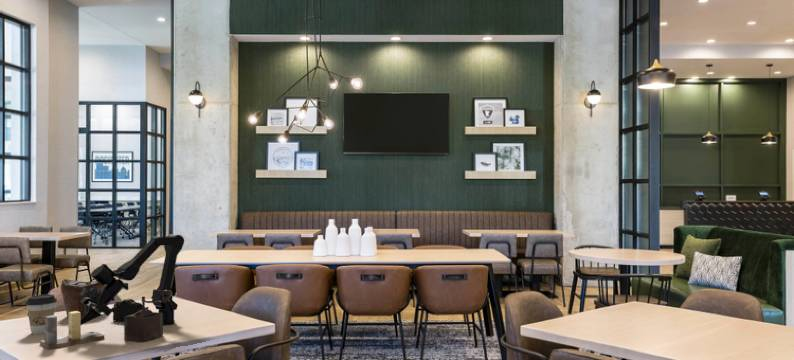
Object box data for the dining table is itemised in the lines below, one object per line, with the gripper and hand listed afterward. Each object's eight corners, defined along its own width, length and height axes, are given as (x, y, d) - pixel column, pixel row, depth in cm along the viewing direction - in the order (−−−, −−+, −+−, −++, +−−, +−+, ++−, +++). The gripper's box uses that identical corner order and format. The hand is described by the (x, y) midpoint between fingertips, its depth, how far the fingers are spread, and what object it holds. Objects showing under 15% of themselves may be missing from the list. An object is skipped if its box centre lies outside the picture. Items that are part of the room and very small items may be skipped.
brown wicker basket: (114, 312, 270) (114, 275, 270) (72, 321, 253) (71, 282, 254) (94, 309, 280) (93, 274, 280) (52, 318, 263) (51, 279, 263)
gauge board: (94, 334, 229) (94, 306, 229) (104, 339, 221) (104, 309, 222) (40, 344, 214) (39, 314, 215) (48, 349, 207) (48, 318, 207)
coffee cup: (23, 337, 226) (23, 300, 227) (27, 331, 237) (27, 295, 237) (56, 333, 232) (56, 297, 232) (58, 327, 242) (58, 293, 242)
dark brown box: (144, 342, 215) (143, 296, 215) (123, 340, 219) (123, 294, 220) (174, 333, 229) (174, 289, 230) (154, 330, 234) (154, 287, 234)
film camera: (156, 316, 261) (156, 295, 261) (145, 323, 249) (145, 300, 249) (117, 317, 260) (117, 296, 261) (104, 324, 248) (104, 301, 248)
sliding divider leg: (74, 335, 222) (74, 309, 222) (80, 338, 216) (80, 312, 217) (65, 336, 219) (65, 311, 220) (72, 339, 214) (72, 313, 214)
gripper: (86, 277, 229) (55, 308, 221) (103, 282, 216) (71, 315, 208) (106, 294, 234) (77, 325, 226) (124, 299, 222) (94, 332, 213)
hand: (79, 324), depth 218 cm, fingers closed, pressing on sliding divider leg
